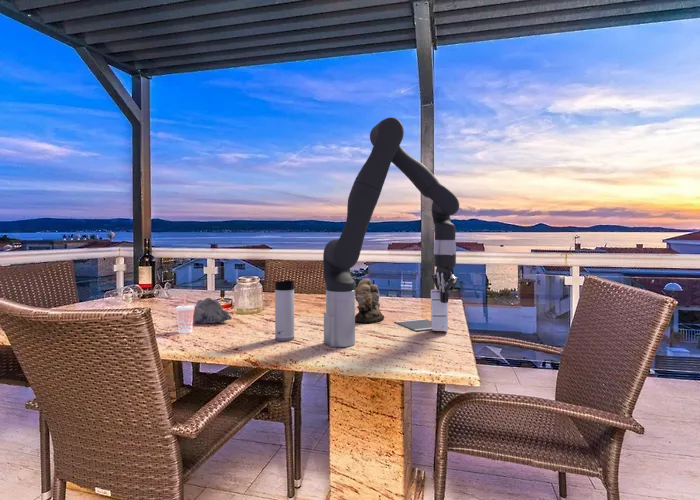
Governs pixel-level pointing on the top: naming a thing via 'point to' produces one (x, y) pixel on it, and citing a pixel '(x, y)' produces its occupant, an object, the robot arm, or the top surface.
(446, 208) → the robot arm
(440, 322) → the syrup box
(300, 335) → the top surface
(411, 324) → the mat
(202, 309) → the mineral rock
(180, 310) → the beverage cup
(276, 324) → the travel mug
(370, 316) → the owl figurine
